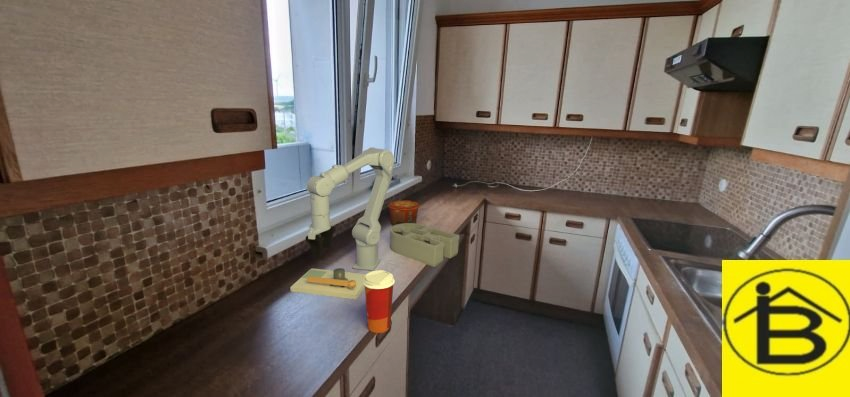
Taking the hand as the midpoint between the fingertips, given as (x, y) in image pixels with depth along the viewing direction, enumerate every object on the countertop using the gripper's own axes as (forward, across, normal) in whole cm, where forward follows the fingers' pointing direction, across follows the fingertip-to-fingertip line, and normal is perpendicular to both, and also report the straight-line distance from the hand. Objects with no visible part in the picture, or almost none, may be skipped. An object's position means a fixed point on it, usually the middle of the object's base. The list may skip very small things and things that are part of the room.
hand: (322, 252), depth 118 cm
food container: (+11, -66, +14) cm, 69 cm away
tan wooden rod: (+8, +6, +6) cm, 11 cm away
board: (+10, +2, +4) cm, 11 cm away
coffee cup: (+11, +22, +26) cm, 35 cm away
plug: (+10, +3, +7) cm, 13 cm away
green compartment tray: (+11, -32, +28) cm, 44 cm away
